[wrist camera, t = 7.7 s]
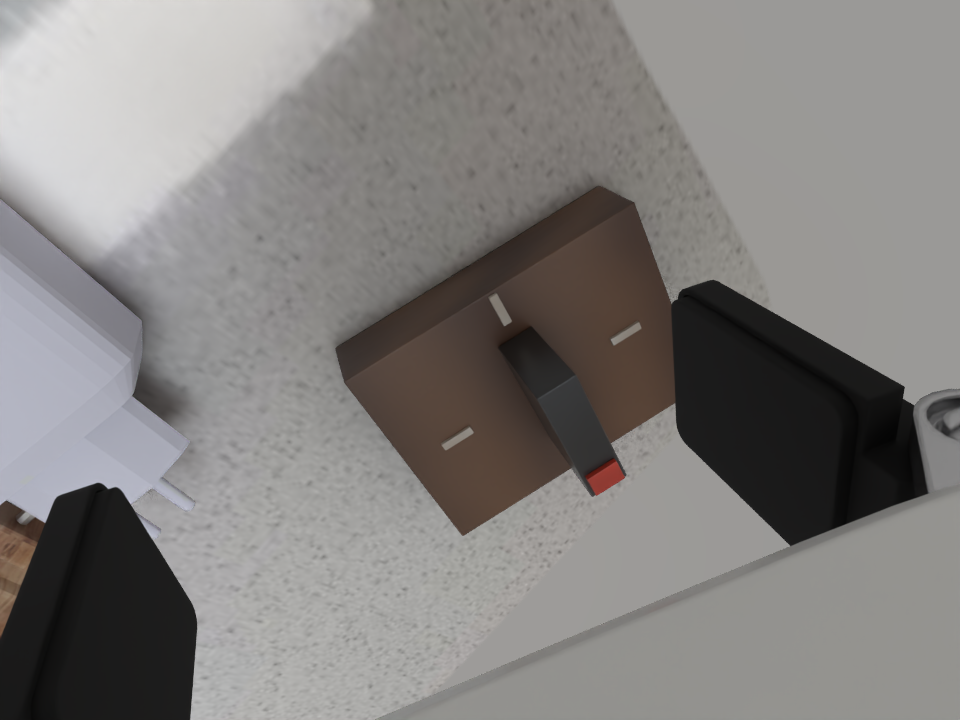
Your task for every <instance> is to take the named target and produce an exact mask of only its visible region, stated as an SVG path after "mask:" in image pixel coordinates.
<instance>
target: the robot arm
mask: <svg viewBox="0 0 960 720" xmlns="http://www.w3.org/2000/svg"><path fill="white" fill-rule="evenodd" d="M671 317H672V339H673V360H674V382H675V403H676V423H677V429H678V432H679V434H680V436H681V438H682V439H683V441H684V442H685V443H686V445H688V447H689V448H691V449H692V450H693V451H694V452H695V453H696V454H697V455H698V456H699V457H700V458H701V459H702V460H703V461H704V462H705V463H706V464H707V465H708V466H709V467H710V468H711V469H712V470H713V471H714V472H715V473H716V474H717V475H718V476H720V478H721V479H722V480H724V482H726V483H727V484H728V485H729V486H730V487H731V488H732V489H733V490H734V491H735V492H736V493H737V494H738V495H739V496H740V497H741V498H742V499H743V500H744V501H745V502H746V503H747V504H748V505H749V506H750V507H751V508H752V509H753V510H755V512H756V513H757V514H758V515H759V516H760V517H762V518H763V520H765V521H766V522H767V523H768V524H769V525H770V526H771V527H772V528H773V529H774V530H775V531H776V532H777V533H778V534H779V535H780V536H781V537H782V538H783V539H784V540H785V541H786V542H787V543H788V544H789V545H790V547H787V548H785V549H783V550H780V551H778V552H775V553H773V554H770V555H768V556H766V557H763V558H761V559H758V560H756V561H753V562H751V563H749V564H746V565H744V566H741V567H739V568H737V569H734V570H731V571H729V572H727V573H724V574H722V575H719V576H717V577H715V578H712V579H710V580H707V581H705V582H702V583H700V584H697V585H695V586H693V587H690V588H688V589H685V590H683V591H680V592H678V593H676V594H673V595H671V596H668V597H666V598H663V599H661V600H659V601H656V602H654V603H651V604H649V605H647V606H644V607H642V608H639V609H637V610H635V611H632V612H630V613H627V614H625V615H623V616H620V617H618V618H615V619H613V620H611V621H608V622H606V623H603V624H601V625H599V626H596V627H594V628H591V629H589V630H587V631H584V632H582V633H579V634H577V635H575V636H572V637H570V638H567V639H565V640H563V641H561V642H558V643H555V644H553V645H551V646H549V647H546V648H543V649H541V650H539V651H536V652H534V653H532V654H529V655H527V656H524V657H522V658H520V659H518V660H515V661H512V662H510V663H508V664H505V665H503V666H501V667H499V668H496V669H494V670H491V671H489V672H486V673H484V674H481V675H479V676H477V677H474V678H472V679H470V680H467V681H465V682H462V683H460V684H458V685H455V686H453V687H450V688H448V689H446V690H443V691H441V692H439V693H436V694H434V695H432V696H429V697H427V698H425V699H422V700H420V701H418V702H415V703H413V704H410V705H408V706H406V707H403V708H401V709H399V710H396V711H394V712H392V713H389V714H387V715H385V716H382V717H380V718H377V719H375V720H960V389H947V390H942V391H937V392H933V393H930V394H928V395H926V396H924V397H922V398H921V399H920V400H919V401H918V402H917V403H916V404H915V406H914V405H912V404H911V403H909V402H907V401H906V400H904V399H903V394H904V388H905V387H904V386H902V385H901V384H899V383H897V382H895V381H893V380H891V379H890V378H888V377H886V376H884V375H883V374H881V373H879V372H878V371H876V370H874V369H872V368H870V367H868V366H867V365H865V364H863V363H862V362H860V361H858V360H856V359H854V358H852V357H851V356H849V355H847V354H846V353H844V352H842V351H840V350H839V349H837V348H835V347H833V346H831V345H830V344H828V343H826V342H824V341H823V340H821V339H819V338H817V337H815V336H814V335H812V334H810V333H808V332H807V331H805V330H803V329H801V328H799V327H798V326H796V325H794V324H792V323H791V322H789V321H787V320H785V319H784V318H782V317H780V316H778V315H777V314H775V313H773V312H771V311H769V310H768V309H766V308H764V307H762V306H761V305H759V304H757V303H755V302H753V301H752V300H750V299H748V298H746V297H745V296H743V295H741V294H739V293H738V292H736V291H734V290H732V289H730V288H729V287H727V286H725V285H723V284H722V283H720V282H718V281H715V280H710V281H706V282H703V283H700V284H697V285H694V286H691V287H688V288H685V289H682V290H681V291H680V293H679V296H678V300H675V301H674V302H673V303H672V306H671ZM196 636H197V619H196V614H195V610H194V607H193V605H192V603H191V601H190V600H189V598H188V596H187V595H186V593H185V591H184V590H183V588H182V587H181V585H180V583H179V582H178V580H177V579H176V577H175V575H174V574H173V572H172V570H171V569H170V567H169V566H168V564H167V562H166V561H165V559H164V558H163V556H162V554H161V553H160V551H159V549H158V548H157V546H156V545H155V543H154V541H153V540H152V538H151V537H150V535H149V533H148V532H147V530H146V528H145V527H144V525H143V524H142V522H141V520H140V519H139V517H138V515H137V514H136V512H135V511H134V509H133V507H132V506H131V504H130V503H129V501H128V499H127V498H126V496H125V494H124V493H123V492H122V490H121V489H119V488H118V487H113V488H110V489H108V488H107V487H106V486H105V485H103V484H102V483H95V484H92V485H89V486H86V487H83V488H80V489H77V490H74V491H71V492H68V493H65V494H62V495H59V496H57V497H56V499H55V500H54V502H53V505H52V507H51V510H50V512H49V515H48V517H47V520H46V523H45V525H44V528H43V530H42V533H41V535H40V538H39V541H38V543H37V546H36V548H35V551H34V553H33V556H32V558H31V561H30V564H29V566H28V569H27V571H26V574H25V576H24V579H23V582H22V584H21V587H20V589H19V592H18V594H17V597H16V599H15V602H14V605H13V607H12V610H11V612H10V615H9V617H8V620H7V622H6V625H5V628H4V630H3V633H2V635H1V638H0V720H190V714H191V701H192V688H193V675H194V662H195V649H196Z"/></svg>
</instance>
